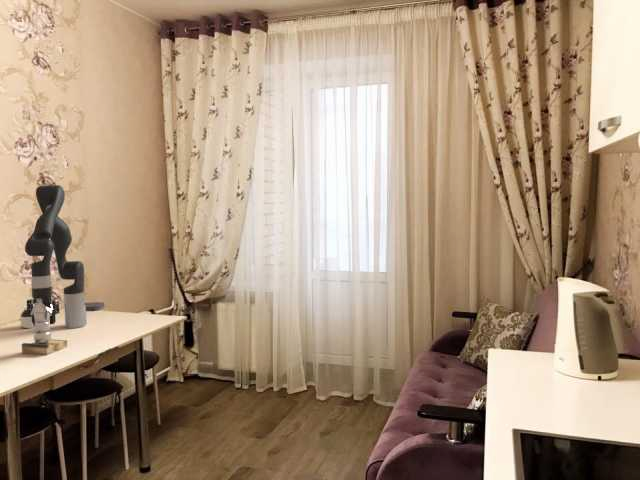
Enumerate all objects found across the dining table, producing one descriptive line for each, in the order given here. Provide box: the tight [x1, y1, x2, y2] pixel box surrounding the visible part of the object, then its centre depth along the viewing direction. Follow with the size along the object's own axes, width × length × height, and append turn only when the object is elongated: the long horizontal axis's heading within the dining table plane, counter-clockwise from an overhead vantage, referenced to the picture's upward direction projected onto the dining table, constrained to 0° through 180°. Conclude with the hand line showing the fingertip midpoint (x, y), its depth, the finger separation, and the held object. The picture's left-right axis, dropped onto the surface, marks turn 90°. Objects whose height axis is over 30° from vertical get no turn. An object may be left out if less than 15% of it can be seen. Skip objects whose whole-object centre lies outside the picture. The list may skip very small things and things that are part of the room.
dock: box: [21, 338, 68, 356], centre depth 213 cm, size 12×12×4 cm
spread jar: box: [20, 304, 35, 330], centre depth 255 cm, size 12×11×12 cm
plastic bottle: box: [33, 298, 52, 343], centre depth 213 cm, size 6×7×20 cm
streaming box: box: [84, 301, 105, 312], centre depth 293 cm, size 13×13×5 cm
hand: (43, 323), depth 213 cm, fingers open, 8 cm apart
